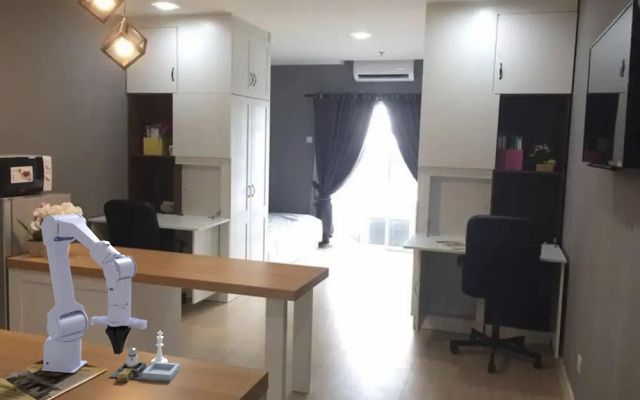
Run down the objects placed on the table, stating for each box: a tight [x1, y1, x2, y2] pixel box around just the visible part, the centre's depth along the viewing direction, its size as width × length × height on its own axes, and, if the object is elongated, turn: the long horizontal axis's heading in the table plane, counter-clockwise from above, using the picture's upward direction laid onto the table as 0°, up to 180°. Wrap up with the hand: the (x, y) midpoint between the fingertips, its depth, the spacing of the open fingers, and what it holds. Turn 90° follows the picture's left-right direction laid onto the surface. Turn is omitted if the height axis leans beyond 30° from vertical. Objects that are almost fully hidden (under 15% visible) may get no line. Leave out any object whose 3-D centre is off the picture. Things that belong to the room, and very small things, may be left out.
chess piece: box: [150, 330, 169, 364], centre depth 163 cm, size 5×5×10 cm
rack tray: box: [141, 362, 181, 383], centre depth 155 cm, size 8×8×2 cm
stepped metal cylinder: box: [125, 346, 139, 370], centre depth 155 cm, size 3×3×7 cm
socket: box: [109, 361, 149, 381], centre depth 156 cm, size 9×9×2 cm
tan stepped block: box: [117, 368, 133, 383], centre depth 152 cm, size 3×4×2 cm
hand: (118, 352), depth 145 cm, fingers closed
